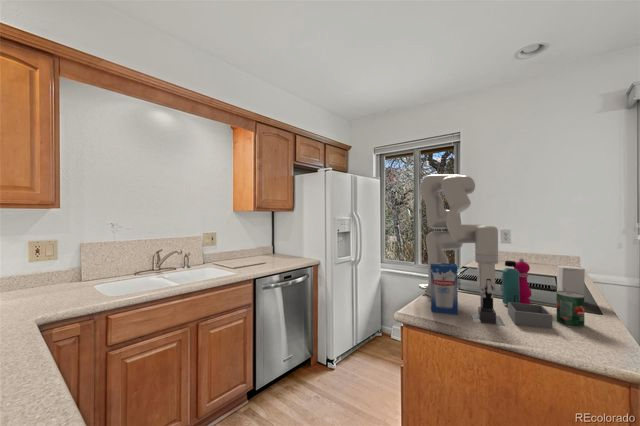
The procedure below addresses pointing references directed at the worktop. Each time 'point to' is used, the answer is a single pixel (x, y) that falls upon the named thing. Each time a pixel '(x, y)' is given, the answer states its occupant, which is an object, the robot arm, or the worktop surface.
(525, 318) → the bin
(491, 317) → the silver rounded piece
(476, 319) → the stud plate
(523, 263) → the pepper mill
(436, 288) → the milk carton
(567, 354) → the worktop surface
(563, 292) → the canned tomato
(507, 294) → the beverage bottle
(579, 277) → the skincare box
